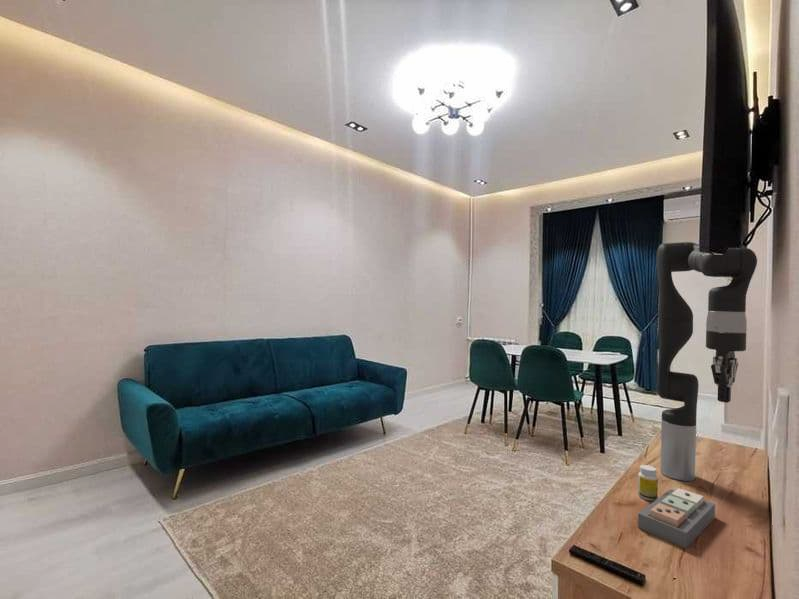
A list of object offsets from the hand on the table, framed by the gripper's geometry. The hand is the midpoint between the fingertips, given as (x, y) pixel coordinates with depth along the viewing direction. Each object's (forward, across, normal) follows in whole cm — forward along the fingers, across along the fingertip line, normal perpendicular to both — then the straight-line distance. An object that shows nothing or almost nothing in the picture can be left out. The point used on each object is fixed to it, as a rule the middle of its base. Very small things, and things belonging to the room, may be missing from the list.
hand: (723, 401), depth 95 cm
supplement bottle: (+32, -5, -18) cm, 37 cm away
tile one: (+30, -4, -8) cm, 31 cm away
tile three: (+30, +10, -8) cm, 33 cm away
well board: (+32, +3, -8) cm, 33 cm away
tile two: (+30, +3, -8) cm, 31 cm away
